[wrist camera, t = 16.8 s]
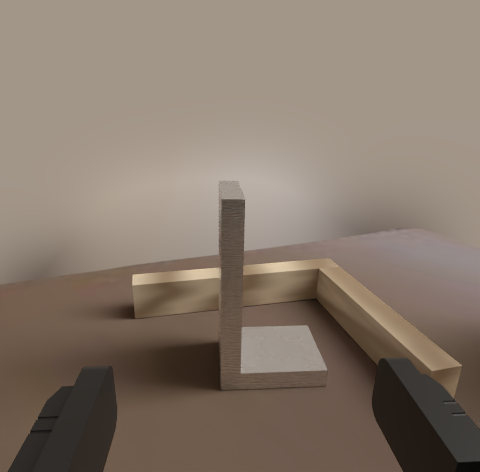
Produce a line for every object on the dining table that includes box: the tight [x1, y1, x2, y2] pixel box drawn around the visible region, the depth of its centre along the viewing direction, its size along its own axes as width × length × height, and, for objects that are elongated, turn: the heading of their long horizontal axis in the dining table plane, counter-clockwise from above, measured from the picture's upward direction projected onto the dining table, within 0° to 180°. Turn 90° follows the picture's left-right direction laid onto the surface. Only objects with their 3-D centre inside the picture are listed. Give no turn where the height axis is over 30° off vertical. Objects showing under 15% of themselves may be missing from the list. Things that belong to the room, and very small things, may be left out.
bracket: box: [219, 181, 328, 390], centre depth 24 cm, size 7×5×12 cm
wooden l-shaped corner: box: [132, 258, 462, 398], centre depth 26 cm, size 18×16×3 cm
